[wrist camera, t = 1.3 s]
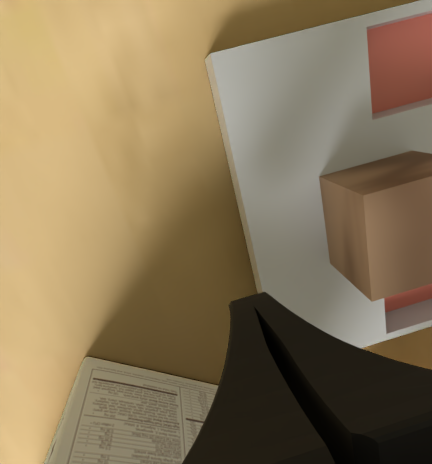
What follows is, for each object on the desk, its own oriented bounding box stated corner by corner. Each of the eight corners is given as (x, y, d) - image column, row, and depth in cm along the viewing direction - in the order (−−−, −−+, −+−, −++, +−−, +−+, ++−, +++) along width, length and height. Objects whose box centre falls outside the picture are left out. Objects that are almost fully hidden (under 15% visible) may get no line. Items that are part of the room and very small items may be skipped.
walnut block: (412, 150, 17) (481, 162, 14) (414, 238, 19) (475, 270, 15) (318, 176, 17) (363, 195, 13) (330, 263, 19) (371, 301, 15)
